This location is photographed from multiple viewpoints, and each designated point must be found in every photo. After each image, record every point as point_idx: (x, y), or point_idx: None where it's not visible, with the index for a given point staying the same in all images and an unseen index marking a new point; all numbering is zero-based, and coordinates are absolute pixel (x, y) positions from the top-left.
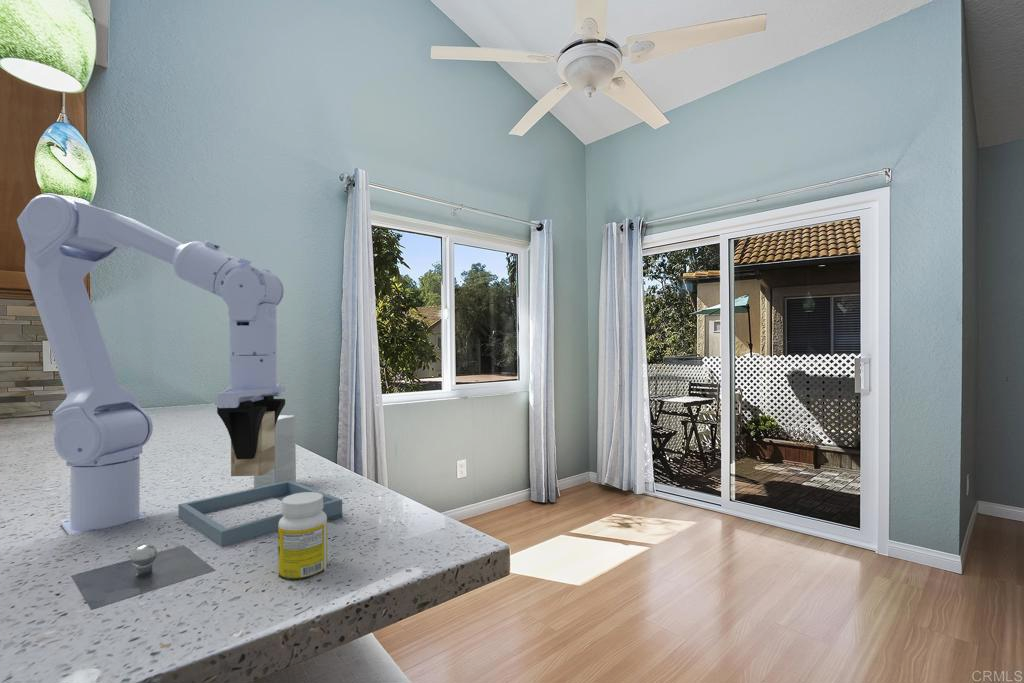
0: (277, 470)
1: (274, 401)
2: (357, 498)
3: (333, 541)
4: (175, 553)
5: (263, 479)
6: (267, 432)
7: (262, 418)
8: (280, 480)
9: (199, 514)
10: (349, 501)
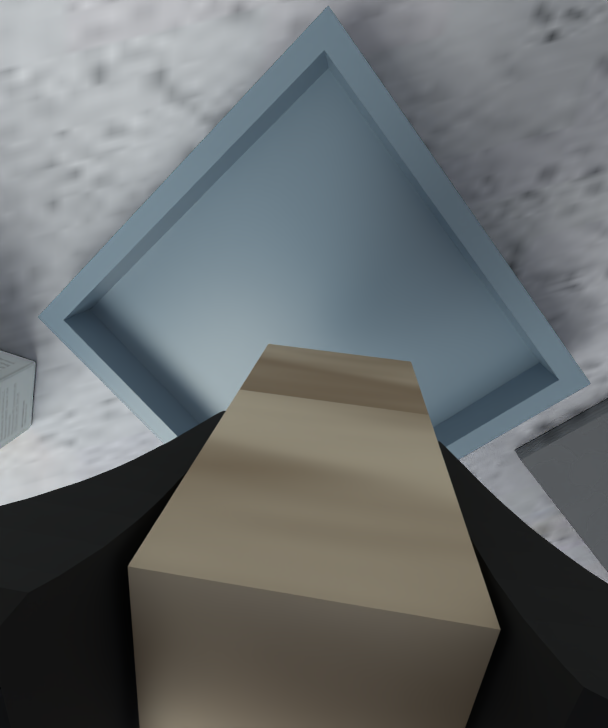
0: None
1: (16, 698)
2: (102, 18)
3: (593, 9)
4: (579, 459)
5: (5, 416)
6: (346, 464)
7: (506, 592)
8: None
9: None
10: (140, 49)
